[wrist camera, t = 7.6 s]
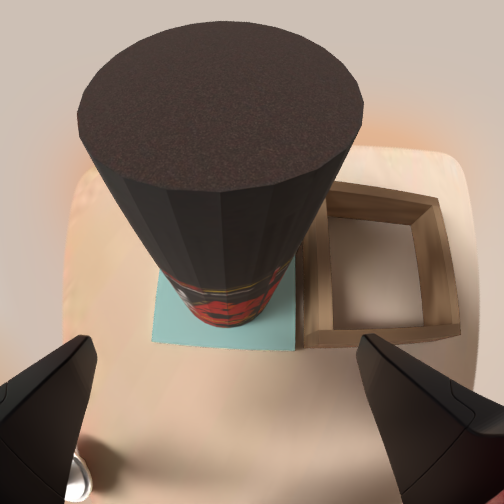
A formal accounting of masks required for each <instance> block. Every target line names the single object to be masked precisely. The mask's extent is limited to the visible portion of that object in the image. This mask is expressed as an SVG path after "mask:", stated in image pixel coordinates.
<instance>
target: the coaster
mask: <svg viewBox="0 0 504 504" xmlns="http://www.w3.org/2000/svg"><path fill="white" fill-rule="evenodd" d="M295 313H296V284H295V256H294V257H293V259H292V261H291V263H290V265H289V266H288V268H287V270H286V272H285V274H284V275H283V277H282V279H281V281H280V283H279V284H278V286H277V288H276V290H275V291H274V293H273V295H272V297H271V299H270V300H269V302H268V304H267V305H266V307H265V308H264V310H263V311H262V313H261V314H259V315H258V316H257V317H256V318H255V319H254V320H253V321H251V322H248V323H246V324H244V325H242V326H238V327H233V328H219V327H214V326H211V325H209V324H206V323H204V322H203V321H201V320H200V319H198V318H197V317H195V316H194V315H193V313H192V312H191V311H190V310H189V308H188V307H187V306H186V305H185V303H184V302H183V300H182V299H181V298H180V296H179V295H178V294H177V292H176V291H175V289H174V288H173V287H172V285H171V284H170V282H169V281H168V280H167V278H166V277H165V275H164V274H163V273H162V271H161V270H160V271H159V278H158V286H157V294H156V302H155V311H154V321H153V331H152V342H155V343H164V344H173V345H183V346H193V347H205V348H219V349H236V350H258V351H295Z"/></svg>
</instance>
